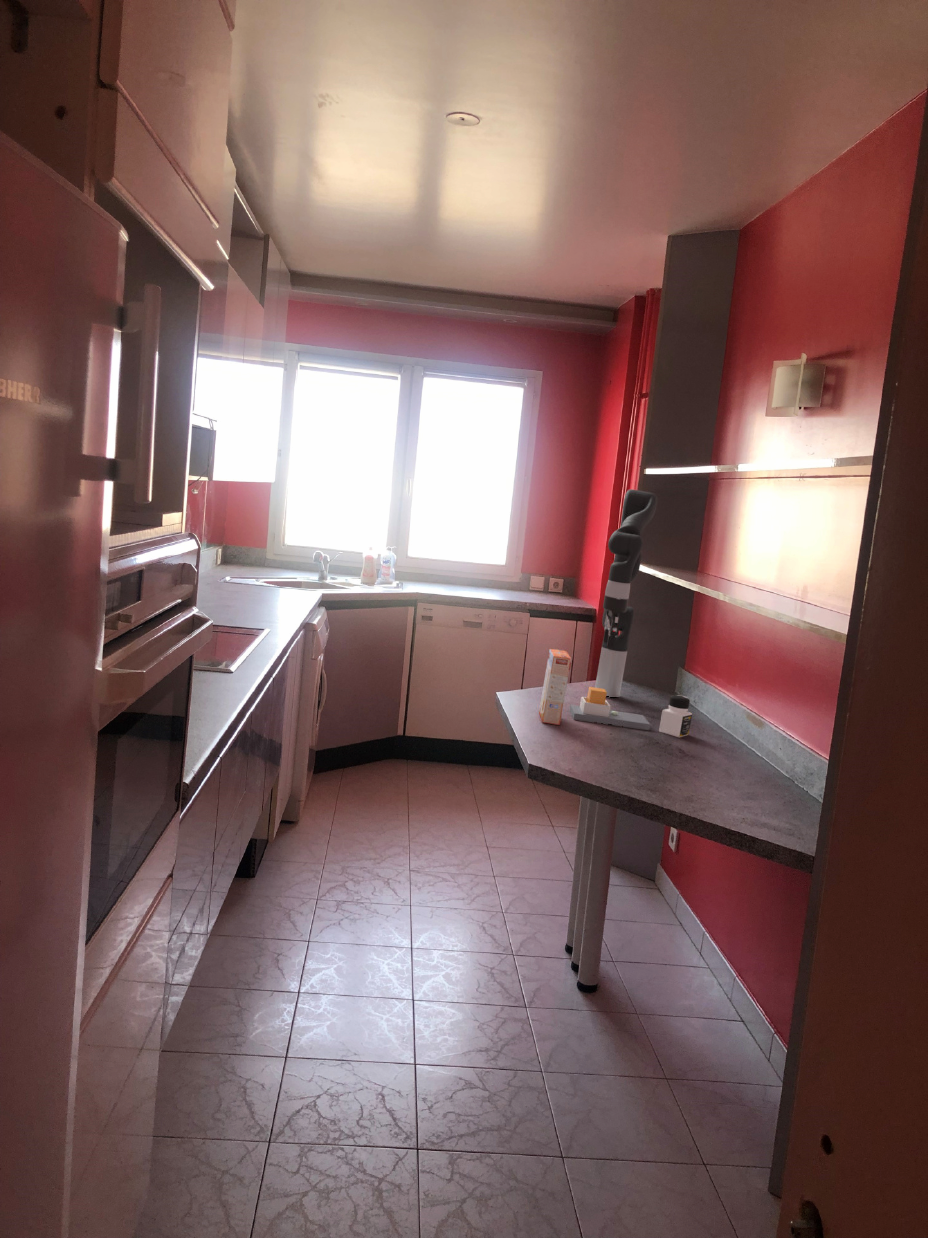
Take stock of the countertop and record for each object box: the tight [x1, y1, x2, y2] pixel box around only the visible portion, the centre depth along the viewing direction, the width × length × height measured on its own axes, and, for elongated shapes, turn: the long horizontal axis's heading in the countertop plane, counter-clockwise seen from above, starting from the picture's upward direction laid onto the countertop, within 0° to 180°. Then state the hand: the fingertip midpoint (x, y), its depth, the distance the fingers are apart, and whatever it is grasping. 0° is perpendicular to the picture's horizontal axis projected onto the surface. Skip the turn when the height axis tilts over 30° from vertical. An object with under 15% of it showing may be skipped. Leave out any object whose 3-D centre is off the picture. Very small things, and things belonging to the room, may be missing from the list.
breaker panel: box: [568, 696, 651, 731], centre depth 287 cm, size 12×24×6 cm, turn 90°
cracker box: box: [538, 648, 572, 726], centre depth 275 cm, size 14×6×21 cm, turn 179°
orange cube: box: [586, 686, 607, 705], centre depth 286 cm, size 5×5×5 cm
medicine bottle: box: [658, 694, 693, 738], centre depth 282 cm, size 7×7×12 cm
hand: (608, 645), depth 288 cm, fingers open, 8 cm apart
